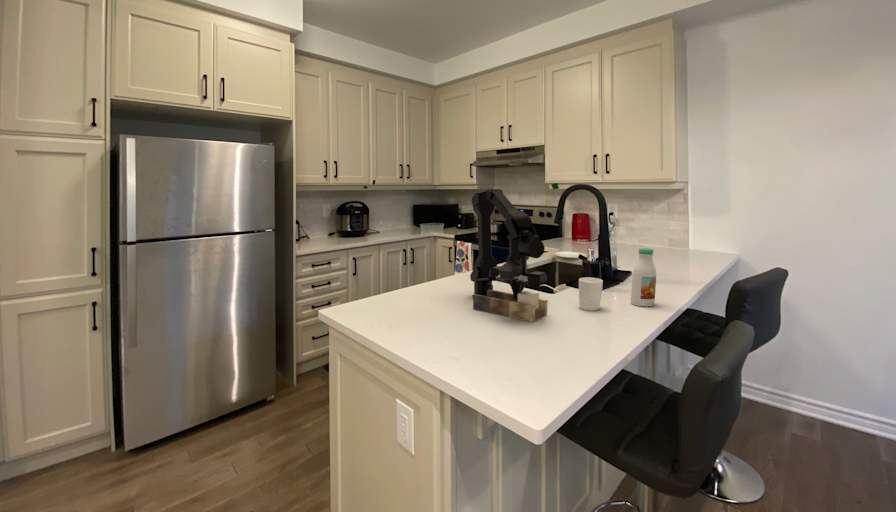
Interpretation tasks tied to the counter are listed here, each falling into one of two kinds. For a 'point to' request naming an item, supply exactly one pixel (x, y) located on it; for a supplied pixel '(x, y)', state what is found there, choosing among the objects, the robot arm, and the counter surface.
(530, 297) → the cream block
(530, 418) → the counter surface
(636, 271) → the milk bottle
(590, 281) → the white cup
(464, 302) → the counter surface
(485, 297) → the channel
